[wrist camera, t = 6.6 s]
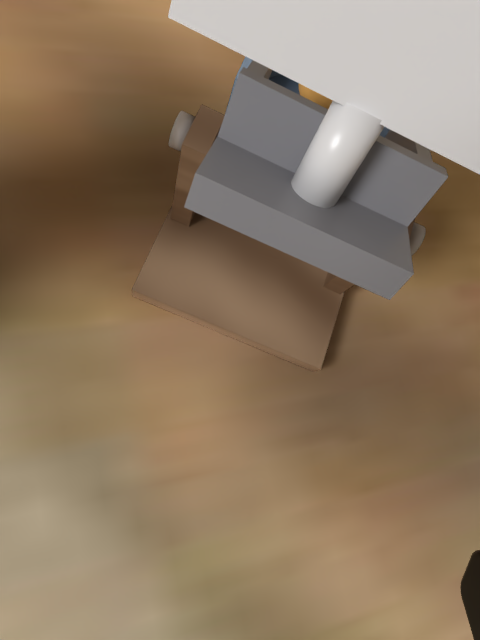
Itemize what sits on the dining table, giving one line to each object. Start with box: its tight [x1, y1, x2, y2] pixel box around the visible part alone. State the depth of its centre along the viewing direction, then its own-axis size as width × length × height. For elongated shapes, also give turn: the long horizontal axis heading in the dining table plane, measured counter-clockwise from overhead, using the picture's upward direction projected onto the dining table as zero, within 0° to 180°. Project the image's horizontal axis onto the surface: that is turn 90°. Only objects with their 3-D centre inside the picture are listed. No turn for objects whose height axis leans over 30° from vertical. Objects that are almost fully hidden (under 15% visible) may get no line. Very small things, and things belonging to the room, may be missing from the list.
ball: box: [299, 84, 333, 109], centre depth 25 cm, size 3×3×3 cm
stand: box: [132, 105, 426, 372], centre depth 20 cm, size 8×11×7 cm
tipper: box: [168, 0, 480, 300], centre depth 14 cm, size 10×11×8 cm
